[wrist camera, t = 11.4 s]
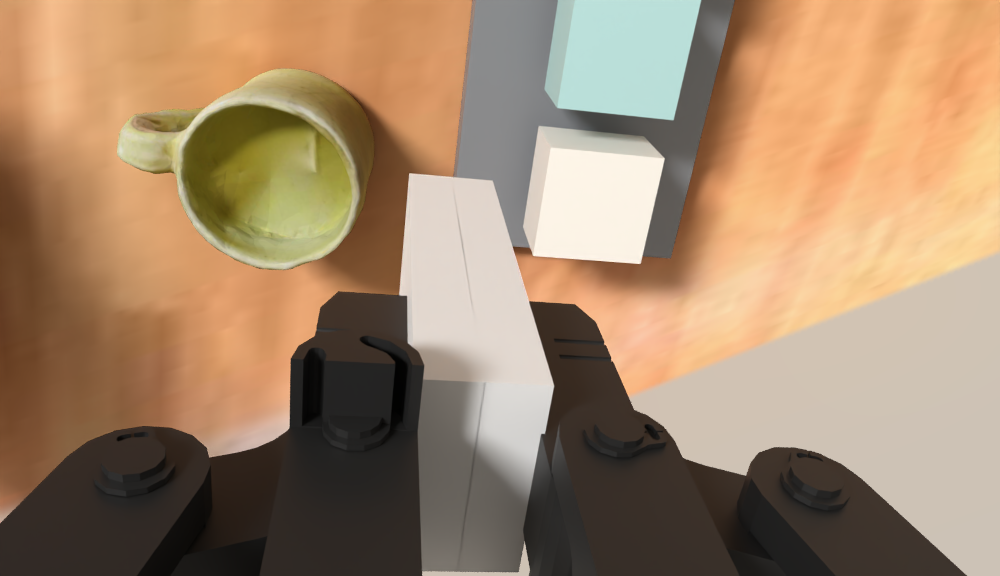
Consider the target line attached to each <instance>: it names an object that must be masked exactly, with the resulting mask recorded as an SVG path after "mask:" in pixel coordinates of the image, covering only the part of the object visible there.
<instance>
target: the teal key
mask: <svg viewBox="0 0 1000 576" xmlns="http://www.w3.org/2000/svg"><path fill="white" fill-rule="evenodd" d="M700 3H701V0H558V4H557V10H556V17H555V23H554V30H553V36H552V43H551V49H550V56H549V62H548V69H547V75H546V82H545V88H544V89H545V91H546V92H547V94H548V95H549V97H550V98H551V100H552V101H553V103H554V104H555V106H556V107H557V108H561V109H571V110H580V111H590V112H599V113H609V114H618V115H628V116H638V117H647V118H657V119H666V120H674V116H675V112H676V108H677V103H678V99H679V95H680V90H681V86H682V82H683V77H684V73H685V68H686V64H687V60H688V55H689V51H690V47H691V42H692V38H693V34H694V29H695V25H696V21H697V16H698V12H699V8H700Z"/></svg>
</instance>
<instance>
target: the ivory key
mask: <svg viewBox="0 0 1000 576" xmlns="http://www.w3.org/2000/svg"><path fill="white" fill-rule="evenodd" d="M664 160H665V158H664V157H663V156H662V155H661V154H660V153H659V152H658V151H657V150H656V149H655V148H654V147H653V146H652V144H651V143H650V142H649V141H648V140H647V139H646V138H645V137H644V136H635V135H625V134H615V133H605V132H595V131H585V130H576V129H566V128H556V127H546V126H539V127H538V134H537V140H536V146H535V153H534V159H533V166H532V172H531V179H530V185H529V192H528V198H527V205H526V211H525V218H524V224H523V228H524V231H525V234H526V237H527V240H528V243H529V246H530V248H531V251H532V254H533V256H541V257H554V258H568V259H581V260H594V261H608V262H621V263H634V264H641V260H642V255H643V251H644V247H645V242H646V238H647V234H648V229H649V225H650V221H651V216H652V212H653V208H654V203H655V199H656V195H657V190H658V186H659V182H660V177H661V173H662V169H663V164H664Z"/></svg>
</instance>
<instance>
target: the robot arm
mask: <svg viewBox="0 0 1000 576" xmlns="http://www.w3.org/2000/svg"><path fill="white" fill-rule="evenodd" d="M524 541H525V545H526V550H527V555H528V561H529V566H530V573H529V576H967V575H965V574H964V573H963V572H962V571H961V570H960V569H959V568H958V567H957V566H956V565H954V563H952V562H951V561H950V560H949V559H948V558H947V557H946V556H945V555H944V554H943V553H942V552H940V551H939V550H938V549H937V548H936V547H935V546H934V545H933V544H932V543H930V541H929V540H927V539H926V538H925V537H924V536H923V535H922V534H921V533H920V532H919V531H918V530H916V529H915V528H914V527H913V526H912V525H911V524H910V523H909V522H908V521H907V520H906V519H905V518H904V517H902V516H901V515H900V514H899V513H898V512H897V511H896V510H894V508H893V507H892V506H890V505H889V504H888V503H887V502H886V501H885V500H884V499H883V498H882V497H881V496H880V495H878V494H877V493H876V492H875V491H874V490H873V489H872V488H871V487H870V486H868V484H866V483H865V482H864V481H863V480H862V479H861V478H860V477H858V476H857V475H856V474H854V473H853V472H852V471H850V470H849V469H847V468H846V467H845V466H843V465H842V464H840V463H838V462H836V461H833V460H831V459H829V458H827V457H825V456H823V455H822V454H819V453H815V452H812V451H807V450H803V449H798V448H784V447H783V448H782V447H774V448H771V449H768V450H765V451H762V452H759V453H758V454H757V455H756V457H755V458H754V459H753V461H752V462H751V464H750V466H749V469H748V472H747V475H746V476H744V475H740V474H736V473H732V472H729V471H725V470H721V469H717V468H713V467H708V466H705V465H702V464H698V463H695V462H692V461H689V460H686V459H684V458H683V457H682V455H681V454H680V451H679V449H678V447H677V445H676V443H675V441H674V440H673V438H672V437H671V436H670V434H669V433H668V432H667V431H666V429H665V428H664V427H663V426H662V425H660V424H659V423H657V422H656V421H654V420H653V419H652V418H650V417H649V416H647V415H645V414H642V413H640V412H637V411H635V410H634V409H633V406H632V404H631V402H630V400H629V397H628V395H627V393H626V390H625V388H624V386H623V384H622V381H621V379H620V377H619V374H618V372H617V370H616V368H615V365H614V363H613V362H611V356H610V354H609V352H608V349H607V347H606V345H604V340H603V338H602V335H601V333H600V331H599V329H598V326H597V324H596V322H595V321H594V320H593V319H591V318H590V317H589V316H588V315H587V314H586V313H584V312H583V311H582V310H581V309H580V308H579V307H577V306H576V305H575V304H561V303H546V302H531V301H529V300H528V297H527V293H526V290H525V287H524V283H523V280H522V277H521V273H520V270H519V267H518V263H517V260H516V257H515V253H514V250H513V247H512V243H511V240H510V237H509V233H508V230H507V227H506V223H505V220H504V217H503V213H502V210H501V207H500V203H499V200H498V197H497V193H496V190H495V187H494V183H493V181H491V180H479V179H468V178H457V177H446V176H435V175H423V174H412V173H409V183H408V195H407V207H406V219H405V231H404V244H403V256H402V268H401V280H400V292H399V295H385V294H370V293H355V292H339V291H338V292H337V293H336V294H335V295H334V296H333V297H332V298H331V299H330V300H328V301H327V302H326V303H325V304H324V305H323V306H322V307H321V308H320V313H319V318H318V323H317V330H316V334H315V336H314V337H313V338H311V339H309V340H308V341H306V342H304V343H303V344H301V345H299V346H298V348H297V350H296V351H295V353H294V354H293V356H292V358H291V376H290V428H289V430H288V431H286V432H285V433H284V434H282V435H281V436H279V437H278V438H276V439H275V440H273V441H271V442H269V443H266V444H264V445H262V446H259V447H257V448H254V449H250V450H246V451H242V452H238V453H233V454H227V455H222V456H216V457H210V458H209V455H208V452H207V448H206V447H205V446H204V445H203V444H202V443H200V442H199V441H198V440H197V439H196V438H195V437H194V436H193V435H190V434H187V433H184V432H181V431H178V430H176V429H173V428H165V427H149V426H142V427H135V428H129V429H123V430H116V431H113V432H111V433H108V434H106V435H103V436H100V437H98V438H95V439H93V440H90V441H88V442H87V443H85V444H84V445H82V446H81V447H80V448H78V449H77V450H76V451H74V452H73V453H71V454H70V455H69V456H67V457H66V458H65V459H64V460H63V461H62V462H61V463H60V464H59V465H58V466H57V467H56V468H55V469H54V470H53V471H52V472H51V473H50V474H49V475H48V476H47V477H46V478H45V479H44V480H43V481H42V482H41V483H40V484H39V485H38V486H37V487H36V488H35V489H34V490H33V491H32V492H31V493H30V494H29V495H28V496H27V497H26V498H25V499H24V500H23V501H22V502H21V503H20V504H19V505H18V506H17V507H16V508H15V509H14V510H13V511H12V512H11V513H10V514H9V515H8V516H7V517H6V518H5V519H4V520H3V521H2V522H1V523H0V576H422V571H456V572H457V571H460V572H519V567H520V562H521V556H522V551H523V546H524Z"/></svg>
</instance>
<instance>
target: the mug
mask: <svg viewBox="0 0 1000 576" xmlns="http://www.w3.org/2000/svg"><path fill="white" fill-rule="evenodd" d="M117 155H118V156H119V157H120V158H121V159H122V160H123V161H124V162H126V163H128V164H130V165H132V166H134V167H136V168H138V169H140V170H142V171H147V172H151V173H154V174H160V173H169V172H171V173H174V174H176V178H177V187H178V195H179V198H180V201H181V203H182V206H183V208H184V210H185V212H186V214H187V216H188V217H189V219H190V221H191V222H192V224H193V225H194V227H195V228H196V230H197V231H198V233H200V234H201V235H202V236H203V237H204V239H205V240H206V241H208V242H209V243H210V244H211V245H212V246H214V247H215V248H216V249H217V250H219V251H221V252H223V253H225V254H226V255H228V256H230V257H231V258H233V259H234V260H237V261H239V262H242V263H244V264H247V265H251V266H253V267H256V268H259V269H269V270H287V269H293V268H294V267H297V266H300V265H302V264H305V263H308V262H311V261H314V260H318V259H321V258H324V257H325V256H326V255H328V254H329V253H331V252H332V251H333V250H335V249H336V248H337V247H338V246H339V245H340V244H341V242H342V241H343V240H344V238H345V237H346V236H347V235H348V234H349V233H350V232H351V230H352V229H353V227H354V224H355V222H356V220H357V218H358V216H359V215H360V213H361V211H362V208H363V205H364V202H365V197H366V190H367V183H368V179H369V176H370V174H371V171H372V167H373V162H374V137H373V132H372V128H371V125H370V123H369V121H368V118H367V116H366V114H365V112H364V110H363V109H362V107H361V106H360V104H359V103H358V102H357V101H356V100H355V99H354V98H353V97H352V96H351V95H350V94H349V93H348V92H347V91H346V90H345V89H344V88H342V87H341V86H340V85H338V84H337V83H335V82H333V81H332V80H330V79H328V78H326V77H324V76H322V75H319V74H316V73H313V72H310V71H306V70H300V69H275V70H270V71H267V72H265V73H262V74H260V75H258V76H256V77H254V78H252V79H251V80H250V81H248V82H247V83H246V84H245V85H244V86H243V87H240V88H238V89H236V90H234V91H231V92H229V93H227V94H225V95H223V96H221V97H219V98H218V99H216V100H215V101H214V102H212V103H211V104H210V105H208V106H207V107H206V108H199V109H192V110H182V109H172V110H162V111H160V112H155V113H143V114H136V115H134V116H132V117H131V118H130V119H129V120H128V121H127V123H126V124H125V125H124V126H123V128H122V129H121V131H120V133H119V139H118V145H117Z"/></svg>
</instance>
